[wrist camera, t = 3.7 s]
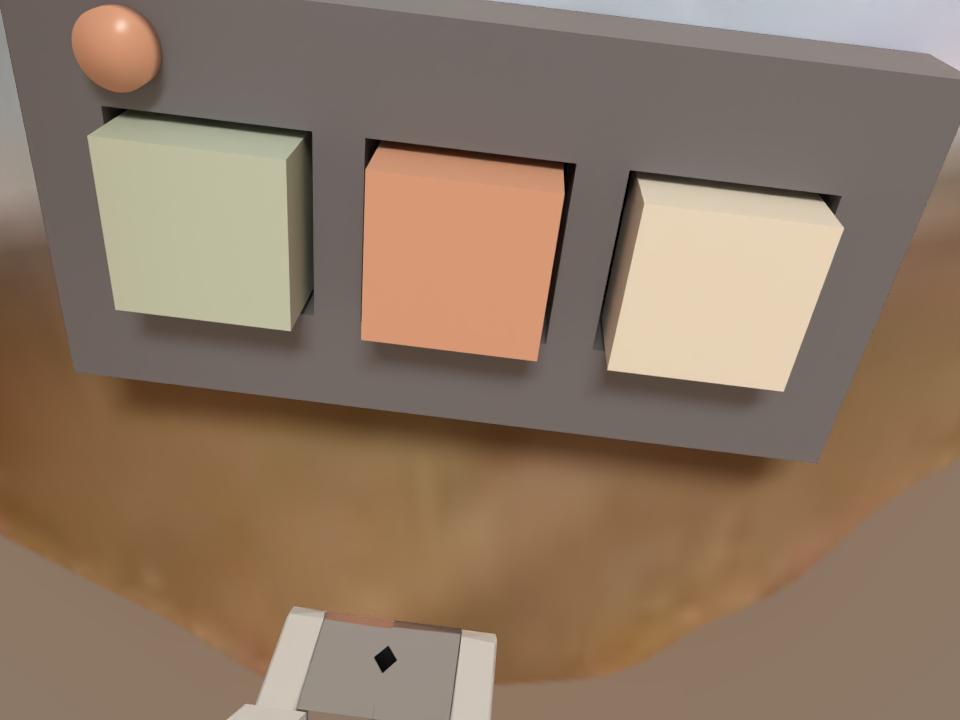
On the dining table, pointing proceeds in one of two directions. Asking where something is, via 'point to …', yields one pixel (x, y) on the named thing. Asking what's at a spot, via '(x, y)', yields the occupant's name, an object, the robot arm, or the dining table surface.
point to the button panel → (499, 130)
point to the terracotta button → (459, 248)
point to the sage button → (206, 217)
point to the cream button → (715, 279)
